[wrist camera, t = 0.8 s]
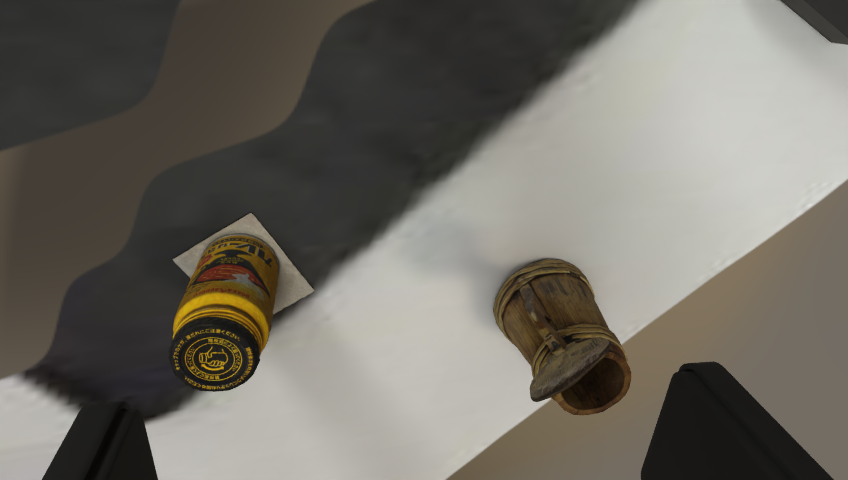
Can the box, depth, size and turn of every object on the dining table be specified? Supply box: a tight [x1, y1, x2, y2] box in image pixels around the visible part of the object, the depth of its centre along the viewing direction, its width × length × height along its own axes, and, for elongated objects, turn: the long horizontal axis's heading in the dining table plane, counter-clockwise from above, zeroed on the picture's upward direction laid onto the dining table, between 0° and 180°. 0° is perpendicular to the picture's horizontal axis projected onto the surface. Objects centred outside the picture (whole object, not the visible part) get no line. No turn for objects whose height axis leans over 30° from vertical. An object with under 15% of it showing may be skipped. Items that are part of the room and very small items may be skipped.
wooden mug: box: [493, 259, 631, 415], centre depth 41 cm, size 9×14×18 cm, turn 38°
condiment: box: [169, 213, 314, 392], centre depth 38 cm, size 7×8×12 cm
